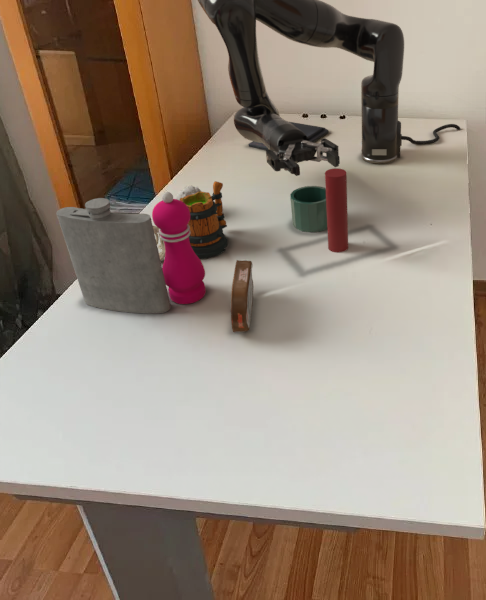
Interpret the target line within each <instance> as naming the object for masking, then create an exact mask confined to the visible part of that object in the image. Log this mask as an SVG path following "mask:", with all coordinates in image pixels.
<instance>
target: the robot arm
mask: <svg viewBox="0 0 486 600" xmlns="http://www.w3.org/2000/svg"><path fill="white" fill-rule="evenodd" d="M197 2H198V4H199V5H200V7H201V9H202V11H204V13H205V14H206V16H207V18H208V19H209V21H210V22H211V23H212V24H213V25H215V27H216V29H217V30H218V33H219V34H220V36H221V38H222V40H223V43H224V45H225V47H226V51H227V54H228V65H227V68H228V69H227V70H228V76H229V81H230V84H231V88H232V91H233V95H234V98H235V100H236V102H237V103H238V105H239V106H241V108H239V109H238V110H237V111H236V112H235V114H234V115H233V125H234V127H235V129H236V131H237V132H238V133H239V135H240V136H242V137H243V138H244V139H246V140H248V141H251V142H253V141H255V142H259V143H263V144H264V145H265V146H266V147H267V148H268V150H265V159H266V163H267V164H268V165H269V166H270V168H272V169H273V171H274V172H281V171H282V170H284V171H286V172H289V173H290V174H291V175H294V176H296V177H298V176H301V169H300V165H299V163H302V162H308V161H310V162H311V161H312V162H317V163H320V162H322V161H324V162H327V163H329V164H330V165H331V166H333V167H334V168H338V167H339V166H340V163H341V162H340V159H341V158H340V156H339V155H340V153H339V145H338V144H336V143H334V142H332V141H331V140H330V139H328V138H325V137H324V138H323V137H322V138H320V142H317V143H316V142H311V141H309V139H308V137H307V136H306V134H305V133H304V132H302V131H301V130H300V129H298V128H297V127H295V126H294V125H293V124H291V123H290V122H291V121H288V120H286V119H284V118H282V117H281V114H280V111H279V110H278V108H277V106H276V105H275V103H274V102H273V100H272V99H271V97H270V95H269V93H268V91H267V88H266V83H265V80H264V75H263V71H262V67H261V63H260V58H259V50H258V40H257V21H258V22H259V23H261V24H263V25H265V26H266V27H268V29H270V30H272V31H273V32H275V33H277V34H279V35H281V36H282V37H283V38H286V39H288V40H290V41H292V42H294V43H299V44H302V45H306V46H310V47H315V48H322V49H325V48H326V49H330V48H336V49H340V50H343V51H346V52H348V53H350V54H353V55H355V56H357V57H359V58H361V59H363V60H365V61H369V62H371V63H373V73H372V74H371V75H367V76H365V77H364V78H363V79H362V80H361V84H360V85H361V86H360V87H361V88H360V89H361V91H360V93H361V95H360V97H361V100H360V102H361V160H362V161H364V162H365V163H366V162H367V163H369V164H375V165H385V164H390V163H393V162H395V161H396V160H397V159H401V148H402V141H408V142H410V143H411V145H420V146H421V145H430V144H435V143H437V142H439V140H440V135H439V134H438V133H439V132H441V131H442V130H445V129H449V128H453V129H456V130H457V131H461V130H462V128H461V127H460V126H459V125H458V124H455V123H447V124H444V125H441V126H438V127H437V128H435V129H434V130H433V131H432V136H434V138H432V139H429V140H415V139H413V138H412V137H411V136H406V135H403V134H402V122H401V121H400V120H399V99H400V98H399V95H400V93H399V92H400V84H401V81H402V79H403V78H402V77H403V72H404V71H403V70H404V59H405V58H404V57H405V37H404V36H405V35H404V32H403V30H402V28H401V27H400V26H399V25H398V24H397V23H393V22H389V21H384V20H380V19H376V18H375V19H374V18H366V17H365V18H364V17H358V16H353V15H348V14H345V13H343V12H341V11H340V10H338V9H337V8H336V7H334V6H333V5H331V4H329V3H328V2H325V1H323V0H197ZM324 154H326V155H324Z"/></svg>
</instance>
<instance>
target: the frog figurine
mask: <svg viewBox="0 0 486 600" xmlns="http://www.w3.org/2000/svg"><path fill="white" fill-rule="evenodd" d="M199 191H202V190H201V189H200V188H199V186H193V185H187V186H185V187H184V188H183V189H181V190H179V192H178V193H177V195H176V199H177V200H180V198H183V197H185V196H188V195H191V194H195V193H197V192H199Z"/></svg>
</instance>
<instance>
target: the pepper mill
mask: <svg viewBox="0 0 486 600" xmlns="http://www.w3.org/2000/svg"><path fill="white" fill-rule="evenodd" d="M151 217H152V218H151V220H152V223H153V224H154V226H156V227H158V228H159V233H158V235H159V234H160V237H159V239H160V238H161V239H162V240H163V241H164V244H165V257H164V258H163V263H162V270H163V274H164V279H165V283H166V287H167V292H168V296H169V299H170V300H171V301H172V302H173V303H176V304H179V305H189V304H193V303H196V302H199V301H200V300H201V299H203V298H204V297H205V296H206V292H207V289H206V285H205V282H204V280H205V276H206V270H205V267H204V264H203V263H202V259H199V258H198V256H197V255H196V254H195V252H194V251H193V249H192V247H191V245H190V241H189V236H190V233H191V232H190V230H189V229H190V227H189V225H188V223H189V221H190V211H189V208H188V207H187V205H186V204H185V203H184V202H182V201H180V200H177V198H174V194H173V193H171V192H169V191H166V192H163V193H162V195H161V201H159V202H157V203H156V204H155V205H154V207H153V208H152V212H151Z"/></svg>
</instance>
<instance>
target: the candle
mask: <svg viewBox="0 0 486 600" xmlns="http://www.w3.org/2000/svg"><path fill="white" fill-rule="evenodd" d="M347 174H348V173H347V170H345V169H344V168H338V167H334V168H330V169H329V168H328V169H327V170H326V171H324V181H325V182H324V183H325V184H324V185H325V188H326V208H327V229H326V230H327V247H328V248H327V249H328V250H329V251H330V252H332V253H343V252H347V250H348V249H349V226H348V225H349V220H348V219H349V218H348V216H349V215H348V176H347Z"/></svg>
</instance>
